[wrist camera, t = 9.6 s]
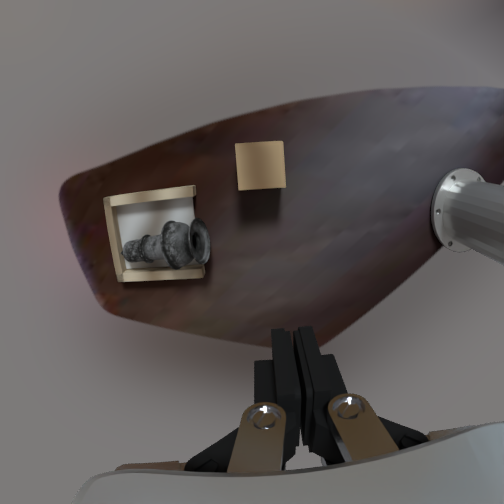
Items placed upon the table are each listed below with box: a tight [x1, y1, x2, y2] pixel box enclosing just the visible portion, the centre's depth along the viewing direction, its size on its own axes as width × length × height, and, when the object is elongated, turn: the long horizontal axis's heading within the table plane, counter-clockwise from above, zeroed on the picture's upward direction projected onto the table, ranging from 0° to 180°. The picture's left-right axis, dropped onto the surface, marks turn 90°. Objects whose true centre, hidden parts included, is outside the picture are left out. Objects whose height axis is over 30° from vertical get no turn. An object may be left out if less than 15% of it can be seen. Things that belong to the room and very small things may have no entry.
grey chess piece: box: [121, 218, 210, 270], centre depth 36 cm, size 6×6×12 cm
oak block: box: [235, 141, 286, 190], centre depth 33 cm, size 5×5×5 cm
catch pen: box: [103, 185, 205, 282], centre depth 37 cm, size 12×11×2 cm
